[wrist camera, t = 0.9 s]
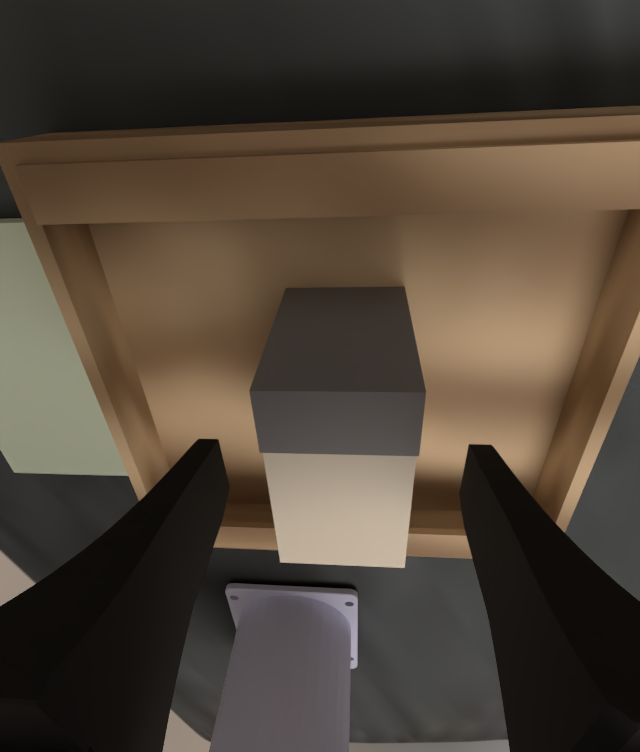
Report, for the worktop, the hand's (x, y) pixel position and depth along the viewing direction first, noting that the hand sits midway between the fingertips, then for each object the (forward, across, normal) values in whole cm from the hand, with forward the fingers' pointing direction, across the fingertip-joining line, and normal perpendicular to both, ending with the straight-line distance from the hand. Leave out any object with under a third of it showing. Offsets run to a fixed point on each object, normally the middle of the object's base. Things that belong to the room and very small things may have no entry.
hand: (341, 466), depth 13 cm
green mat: (+6, +13, 0) cm, 14 cm away
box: (+5, 0, 0) cm, 5 cm away
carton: (+6, 0, 0) cm, 6 cm away
